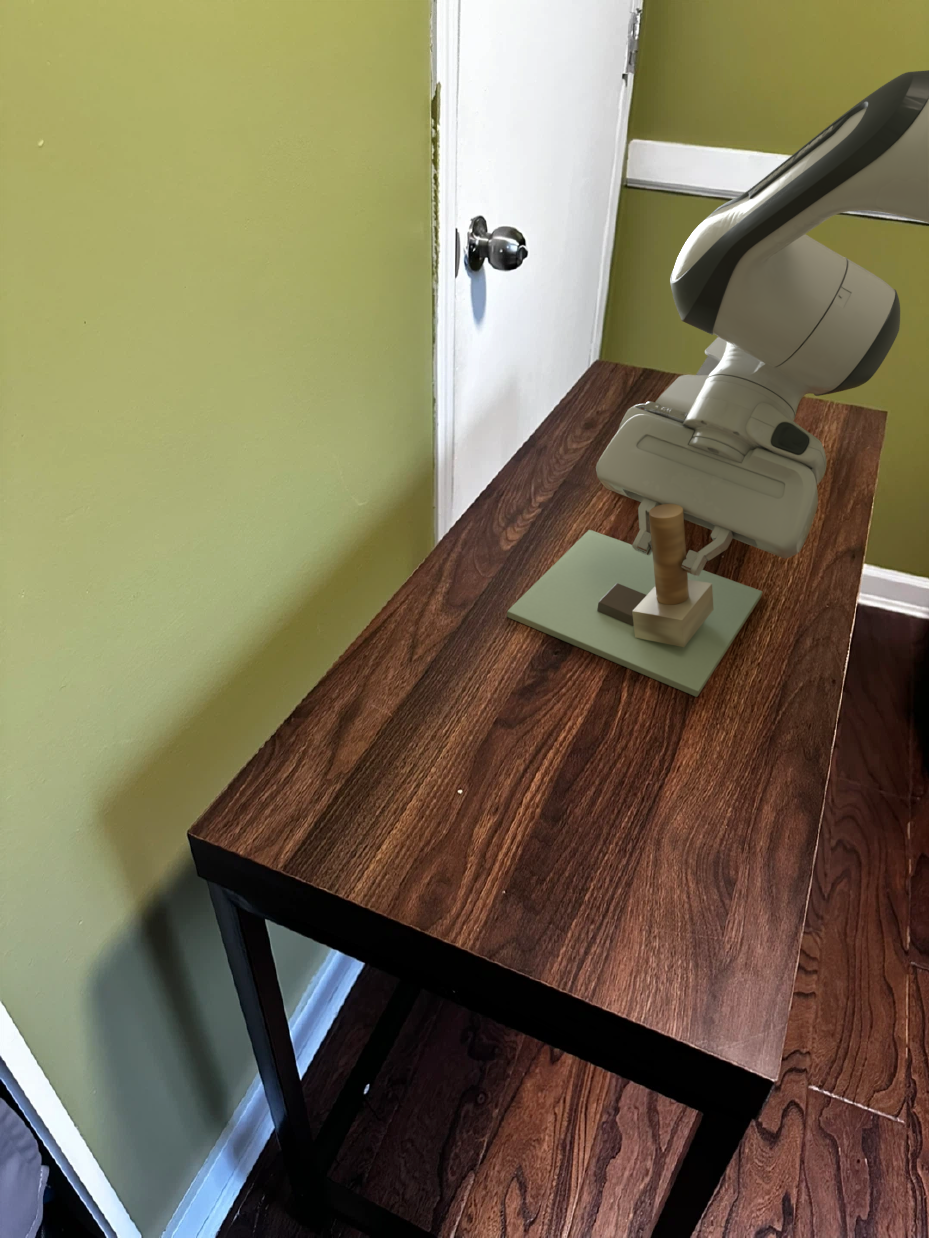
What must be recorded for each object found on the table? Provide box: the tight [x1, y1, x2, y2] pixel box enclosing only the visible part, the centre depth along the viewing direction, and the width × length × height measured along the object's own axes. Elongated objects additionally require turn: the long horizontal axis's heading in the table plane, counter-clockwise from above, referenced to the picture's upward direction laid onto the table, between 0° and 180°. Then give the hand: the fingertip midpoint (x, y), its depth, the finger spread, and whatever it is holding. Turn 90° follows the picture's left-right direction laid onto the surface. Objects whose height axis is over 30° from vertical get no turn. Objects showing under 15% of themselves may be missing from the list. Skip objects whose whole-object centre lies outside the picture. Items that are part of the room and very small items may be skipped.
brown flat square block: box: [597, 583, 646, 626], centre depth 85 cm, size 4×4×1 cm
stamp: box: [632, 504, 714, 647], centre depth 80 cm, size 5×7×12 cm
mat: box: [506, 529, 763, 698], centre depth 87 cm, size 20×18×1 cm
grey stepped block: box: [655, 336, 726, 413], centre depth 107 cm, size 25×16×12 cm, turn 150°
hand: (664, 562), depth 79 cm, fingers closed on stamp, 4 cm apart
